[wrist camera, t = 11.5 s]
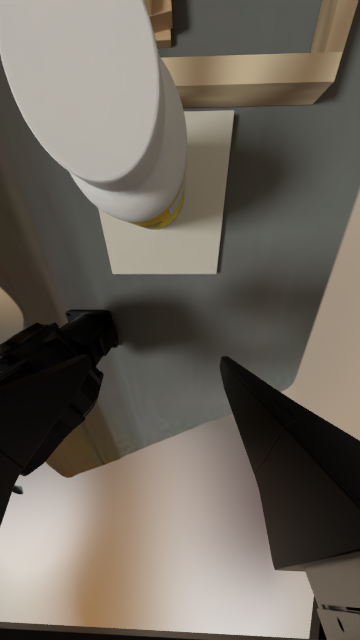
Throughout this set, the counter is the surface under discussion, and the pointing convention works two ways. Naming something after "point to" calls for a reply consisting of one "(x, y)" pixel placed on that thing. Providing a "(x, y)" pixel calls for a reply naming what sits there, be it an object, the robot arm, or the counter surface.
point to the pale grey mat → (182, 210)
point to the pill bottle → (100, 101)
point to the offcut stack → (160, 21)
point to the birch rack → (267, 69)
